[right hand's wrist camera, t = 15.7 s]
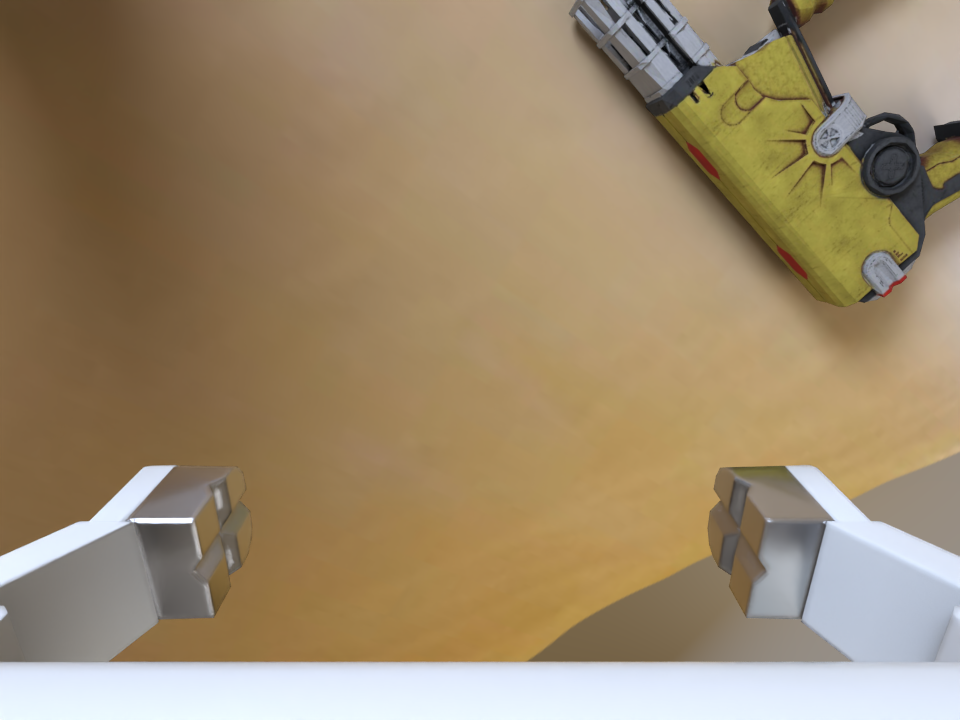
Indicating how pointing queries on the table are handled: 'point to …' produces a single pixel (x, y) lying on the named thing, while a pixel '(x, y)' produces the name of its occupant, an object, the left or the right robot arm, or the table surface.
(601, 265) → the table surface
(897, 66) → the table surface
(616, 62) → the toy gun
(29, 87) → the table surface
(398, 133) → the table surface
